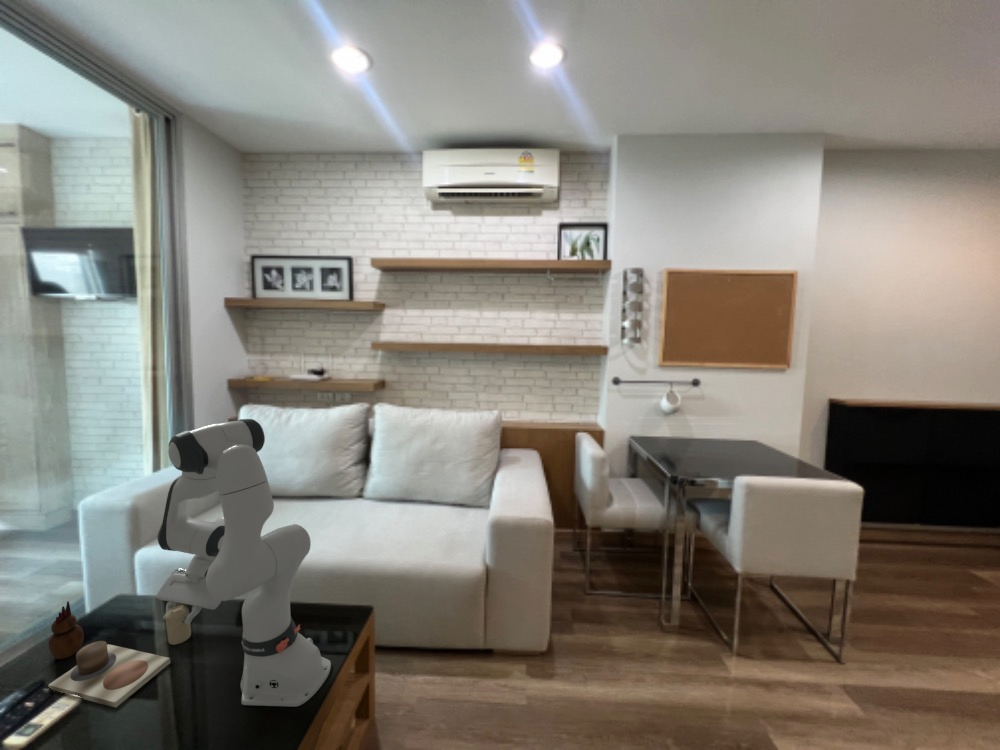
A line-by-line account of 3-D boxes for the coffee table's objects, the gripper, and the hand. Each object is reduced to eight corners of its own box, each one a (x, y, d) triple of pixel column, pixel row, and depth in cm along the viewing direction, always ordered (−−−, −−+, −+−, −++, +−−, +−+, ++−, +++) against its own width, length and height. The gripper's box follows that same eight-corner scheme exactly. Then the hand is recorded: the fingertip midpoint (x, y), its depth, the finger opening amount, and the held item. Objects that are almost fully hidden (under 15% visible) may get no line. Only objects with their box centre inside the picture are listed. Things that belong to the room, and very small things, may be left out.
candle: (188, 628, 132) (184, 598, 130) (193, 637, 128) (190, 606, 127) (166, 638, 128) (162, 608, 126) (171, 648, 124) (167, 616, 123)
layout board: (170, 662, 119) (168, 641, 118) (115, 707, 105) (112, 683, 104) (108, 648, 124) (105, 627, 123) (48, 690, 110) (45, 666, 109)
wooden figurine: (77, 642, 126) (71, 595, 124) (89, 648, 124) (82, 601, 122) (47, 659, 120) (39, 610, 117) (58, 666, 118) (50, 616, 115)
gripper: (168, 564, 134) (139, 614, 126) (222, 573, 130) (196, 625, 122) (182, 569, 139) (156, 617, 131) (235, 578, 135) (211, 628, 127)
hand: (176, 621), depth 126 cm, fingers closed on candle, 5 cm apart
